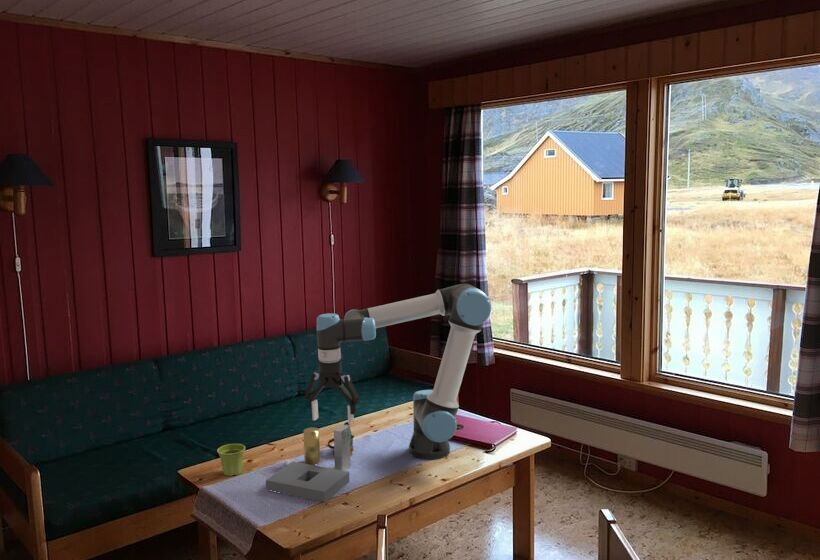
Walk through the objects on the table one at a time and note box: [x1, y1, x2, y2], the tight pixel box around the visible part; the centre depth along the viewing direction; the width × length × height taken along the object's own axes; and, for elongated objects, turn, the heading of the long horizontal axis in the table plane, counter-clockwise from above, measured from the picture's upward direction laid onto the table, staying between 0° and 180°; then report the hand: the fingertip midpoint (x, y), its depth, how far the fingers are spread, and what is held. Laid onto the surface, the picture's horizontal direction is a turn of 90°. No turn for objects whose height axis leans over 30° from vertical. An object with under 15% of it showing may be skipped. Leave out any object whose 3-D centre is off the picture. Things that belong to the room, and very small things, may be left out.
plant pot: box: [216, 443, 246, 477], centre depth 235 cm, size 9×9×9 cm
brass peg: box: [303, 426, 321, 466], centre depth 243 cm, size 6×6×12 cm
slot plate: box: [265, 461, 350, 503], centre depth 224 cm, size 22×16×4 cm
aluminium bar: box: [333, 424, 352, 471], centre depth 236 cm, size 3×6×15 cm, turn 156°
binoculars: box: [327, 421, 355, 456], centre depth 252 cm, size 9×11×10 cm
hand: (333, 421), depth 231 cm, fingers open, 13 cm apart
